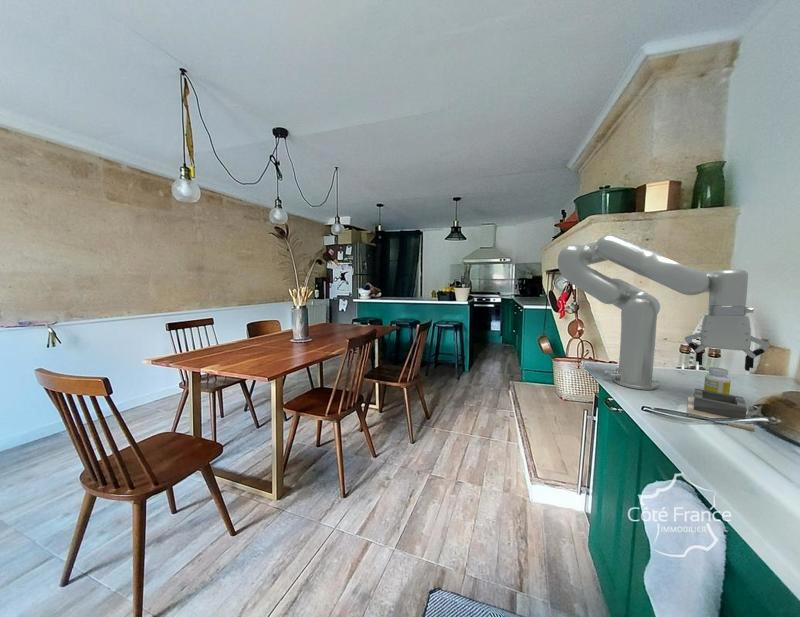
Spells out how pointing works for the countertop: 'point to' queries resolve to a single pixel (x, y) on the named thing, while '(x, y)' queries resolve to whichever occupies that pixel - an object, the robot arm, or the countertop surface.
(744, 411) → the holder board
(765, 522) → the countertop surface
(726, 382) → the supplement bottle
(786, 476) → the countertop surface
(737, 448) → the countertop surface
